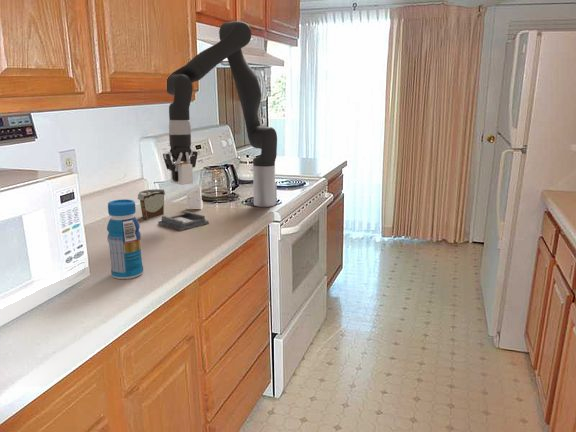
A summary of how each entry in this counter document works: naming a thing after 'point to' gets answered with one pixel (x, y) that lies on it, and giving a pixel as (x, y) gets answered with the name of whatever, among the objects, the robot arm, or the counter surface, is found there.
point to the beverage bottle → (124, 240)
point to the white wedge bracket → (194, 199)
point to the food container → (152, 203)
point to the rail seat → (183, 221)
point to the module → (184, 174)
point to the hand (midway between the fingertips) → (181, 180)
